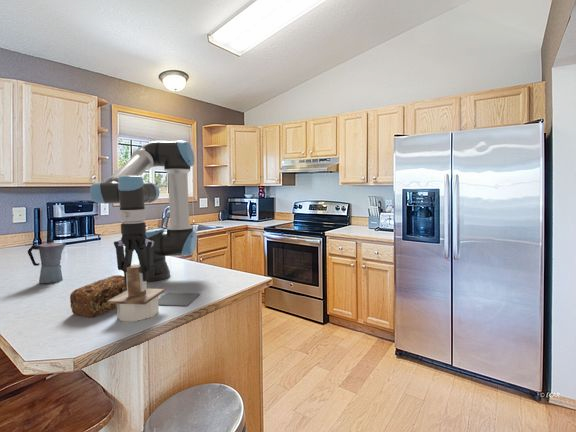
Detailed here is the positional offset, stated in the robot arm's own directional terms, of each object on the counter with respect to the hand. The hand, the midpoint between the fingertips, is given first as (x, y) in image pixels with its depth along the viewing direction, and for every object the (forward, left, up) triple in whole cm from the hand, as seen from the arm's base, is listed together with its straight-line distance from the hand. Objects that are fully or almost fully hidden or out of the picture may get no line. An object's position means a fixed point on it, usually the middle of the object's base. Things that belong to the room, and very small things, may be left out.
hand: (137, 290), depth 109 cm
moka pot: (-63, +33, -9) cm, 72 cm away
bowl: (0, 0, -8) cm, 8 cm away
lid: (0, 0, -2) cm, 2 cm away
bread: (-16, +5, -9) cm, 19 cm away
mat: (+7, +14, -8) cm, 18 cm away
